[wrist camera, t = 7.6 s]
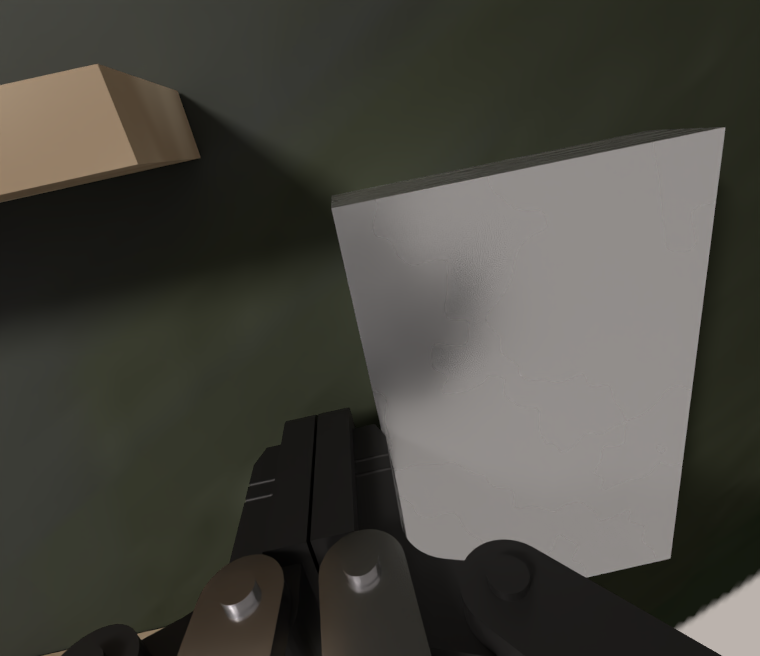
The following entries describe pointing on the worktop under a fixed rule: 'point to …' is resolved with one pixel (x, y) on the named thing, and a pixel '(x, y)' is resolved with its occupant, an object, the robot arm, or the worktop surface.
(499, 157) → the worktop surface
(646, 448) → the cover plate
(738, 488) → the worktop surface
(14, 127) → the wooden bracket
